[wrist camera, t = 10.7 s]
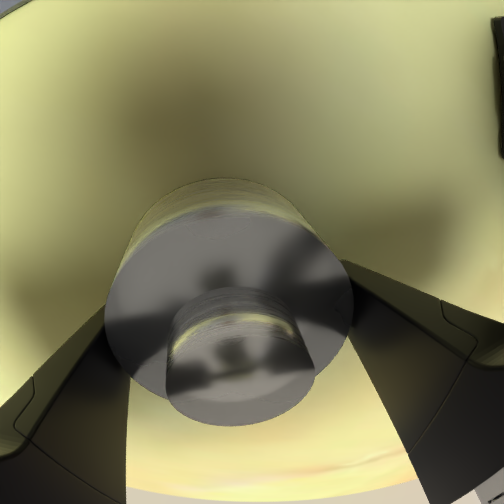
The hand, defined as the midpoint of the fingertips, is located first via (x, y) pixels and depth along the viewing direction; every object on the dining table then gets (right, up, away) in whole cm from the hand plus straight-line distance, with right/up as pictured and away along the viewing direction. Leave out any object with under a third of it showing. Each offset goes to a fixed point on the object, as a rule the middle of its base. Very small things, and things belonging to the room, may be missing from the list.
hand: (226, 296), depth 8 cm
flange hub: (0, +1, +1) cm, 1 cm away
